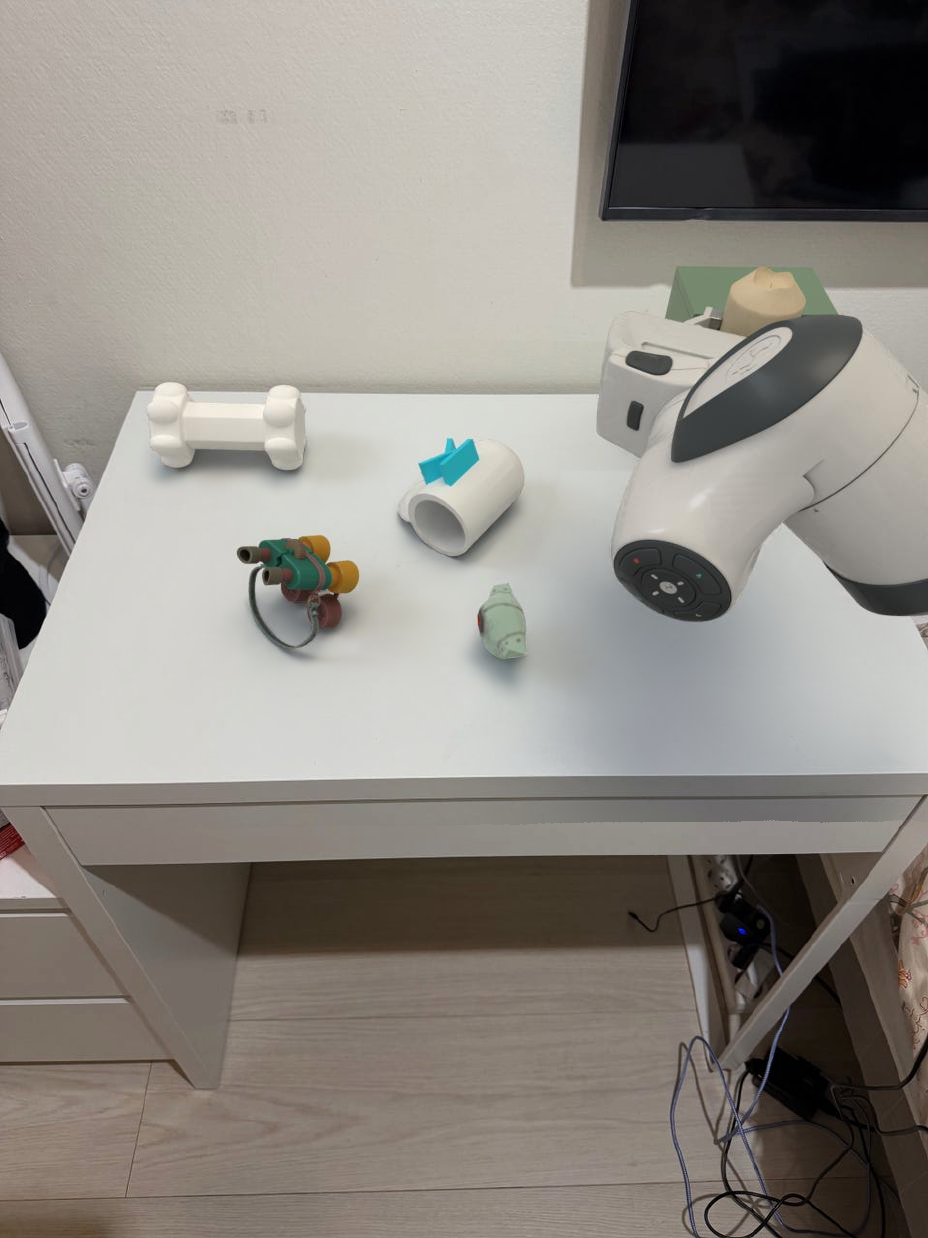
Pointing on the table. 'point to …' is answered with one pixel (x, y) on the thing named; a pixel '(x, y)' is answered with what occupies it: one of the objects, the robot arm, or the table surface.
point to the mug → (462, 494)
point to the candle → (761, 302)
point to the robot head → (502, 624)
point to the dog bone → (227, 426)
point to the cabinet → (714, 283)
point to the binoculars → (301, 579)
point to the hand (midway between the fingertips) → (757, 326)
